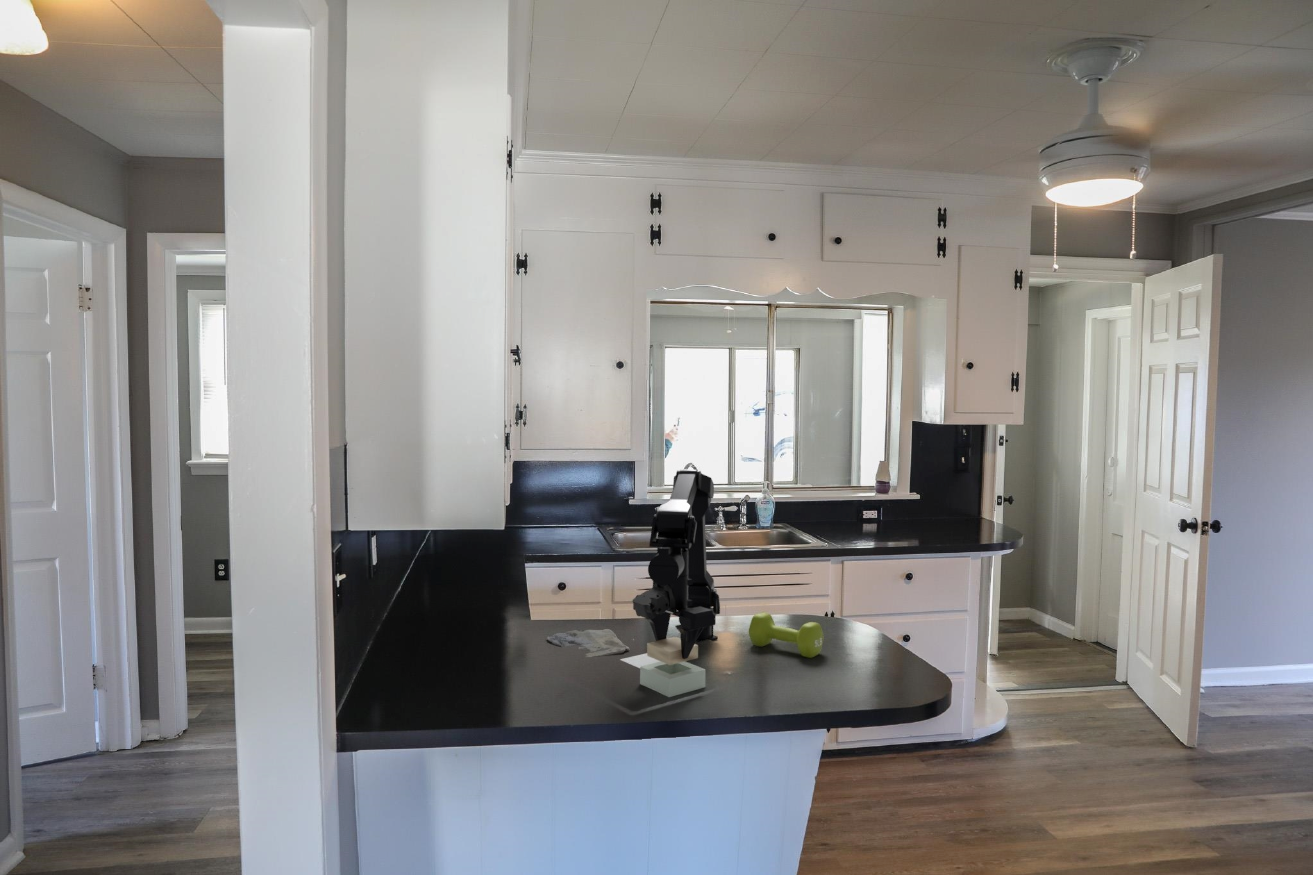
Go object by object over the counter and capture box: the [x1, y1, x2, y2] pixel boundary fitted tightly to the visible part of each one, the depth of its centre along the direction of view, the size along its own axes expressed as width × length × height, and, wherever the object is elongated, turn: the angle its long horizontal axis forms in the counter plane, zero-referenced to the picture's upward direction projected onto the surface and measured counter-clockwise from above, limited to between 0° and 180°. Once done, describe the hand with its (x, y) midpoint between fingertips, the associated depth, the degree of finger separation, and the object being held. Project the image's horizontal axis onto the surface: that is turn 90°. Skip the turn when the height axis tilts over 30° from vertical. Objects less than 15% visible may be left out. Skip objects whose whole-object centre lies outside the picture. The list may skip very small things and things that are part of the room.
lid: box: [646, 636, 699, 665], centre depth 161 cm, size 7×7×2 cm
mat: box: [619, 652, 661, 669], centre depth 176 cm, size 10×10×1 cm
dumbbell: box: [748, 611, 825, 659], centre depth 187 cm, size 16×8×7 cm, turn 51°
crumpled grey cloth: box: [546, 628, 630, 658], centre depth 188 cm, size 18×15×2 cm
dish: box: [639, 661, 707, 698], centre depth 161 cm, size 9×9×4 cm
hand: (672, 653), depth 161 cm, fingers closed on lid, 7 cm apart
